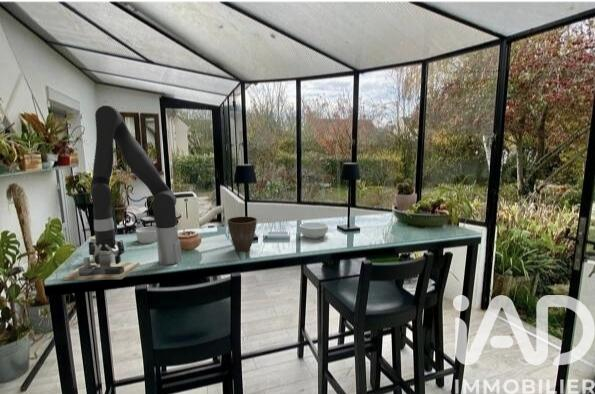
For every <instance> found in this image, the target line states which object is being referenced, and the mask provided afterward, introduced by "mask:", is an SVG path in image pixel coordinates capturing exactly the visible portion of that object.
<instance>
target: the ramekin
mask: <svg viewBox="0 0 595 394" xmlns="http://www.w3.org/2000/svg"><path fill="white" fill-rule="evenodd" d="M135 234H136V238H137V241H138V242H139V243H140V244H152V243H157V233H156V225H155V226H144V227H143V226H142V227H140V228H137V229H136V230H135Z"/></svg>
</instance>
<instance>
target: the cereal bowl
mask: <svg viewBox="0 0 595 394" xmlns="http://www.w3.org/2000/svg"><path fill="white" fill-rule="evenodd" d="M328 230H329V225H328V224H326V223H323V222H315V221H314V222H303V223H300V224H299V233H301V235H303V236H304V237H306V238H307V239H311V240H312V239H314V240H315V239H316V240H317V239H320V238H321V237H324V236H326V234H327V233H328Z"/></svg>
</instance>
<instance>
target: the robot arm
mask: <svg viewBox="0 0 595 394" xmlns="http://www.w3.org/2000/svg"><path fill="white" fill-rule="evenodd" d="M94 117H95V118H94V119H95V129H96V133H95V135H96V140H95V141H96V142H95V152H94V159H93V170H92V173H93V174H92V178H91V183H90V194H91V198H92V205H93V207H92V214H93V230H94V236H95V239H96V241H91V240H90V241H89V242H88V253H89V255H90V256H92V257H93V256H94V257H95V263H96V264H100V261H99V254H100V252H101V251H111V252H112V253H113V254H114V255H115V262H116V264H119V263H122V260H121V258H122V257H121V255H123V254H125V246H124V245H125V244H124V241H123V240H122V239H121V240H116V232H115V222H114V218H113V217H114V216H113V210H112V192H111V189H110V180H111V177H112V175H113V174H112V173H113V168H114V142H115V143H116V144H117V147H118V149H119V152H120V155H121V157H122V158H123V160H124V162H125V163H126V165H127V166H128V168H129V170H131V172H132V173H133V174H134V176H135V177H137V178H138V180H139V181H140V182H141V183H143V184H144V185H145V186H146V187H147V189H148V190H149V192H150V193H151V195H152V197H153V199H152V209H153V219H154V223H155V226H156V233H157V242H156V243H157V244H156V245H157V259H158V264H160V265H162V266H163V265H164V266H166V265H167V266H168V265H175V264H176V265H177V264H178V263H179V262H180V261H181V260H182V251H181V249H182V248H181V240H180V239H179V229H178V219H177V214H176V204H177V197H176V195H175V194H174V192H173V190H171V189H170V188H169V187H168V185H167V184H166V182H165V181H164V180H163V179H162V177H161V175H160V174H159V171H158V169H157V167H156V166H155V165H154V163H153V162H152V159H150V157H149V156H148V154H147V152H146V151H145V150H144V148H143V147H142V145H141V144H140V142H139V141H138V140H136V138H135V137H134V136H133V134H132V132H130V129H129V128H128V125H127V124H126V122H125V121H124V118H123V116H122V114H121V112H120V111H118V110H117V108H115V107H113V106H110V105H101V106H100V107H98V108H97V110H96V111H95V116H94ZM95 245H97V247H98V248H97V250H96V252H95Z"/></svg>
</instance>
